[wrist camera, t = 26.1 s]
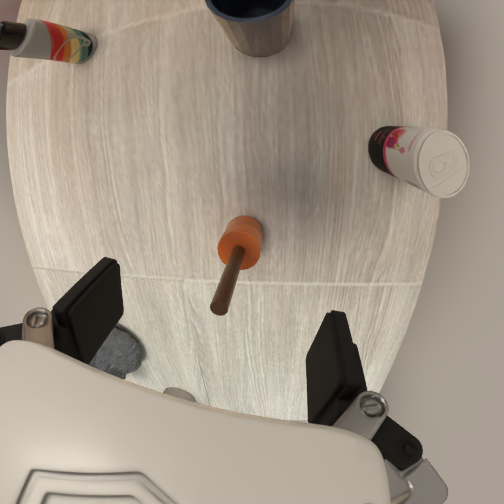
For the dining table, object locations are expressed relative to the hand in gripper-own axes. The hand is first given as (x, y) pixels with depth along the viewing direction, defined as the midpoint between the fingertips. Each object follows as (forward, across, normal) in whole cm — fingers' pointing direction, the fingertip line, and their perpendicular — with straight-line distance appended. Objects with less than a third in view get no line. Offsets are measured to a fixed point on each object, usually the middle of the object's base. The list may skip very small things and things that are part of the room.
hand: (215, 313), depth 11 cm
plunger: (+28, +1, +8) cm, 29 cm away
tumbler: (+28, +4, -21) cm, 36 cm away
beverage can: (+28, -16, -9) cm, 34 cm away
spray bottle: (+28, +33, -19) cm, 48 cm away
